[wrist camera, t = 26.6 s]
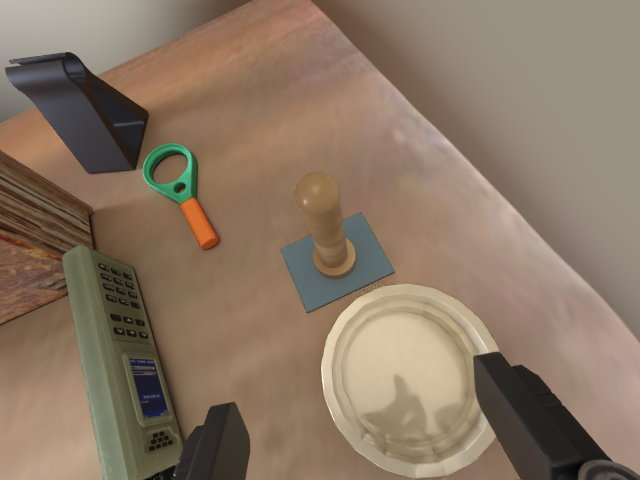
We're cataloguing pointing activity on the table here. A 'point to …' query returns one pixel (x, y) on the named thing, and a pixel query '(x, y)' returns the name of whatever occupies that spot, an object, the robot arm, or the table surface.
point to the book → (35, 238)
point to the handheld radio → (121, 370)
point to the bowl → (408, 380)
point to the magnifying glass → (185, 198)
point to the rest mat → (325, 290)
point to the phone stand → (83, 110)
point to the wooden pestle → (325, 225)
